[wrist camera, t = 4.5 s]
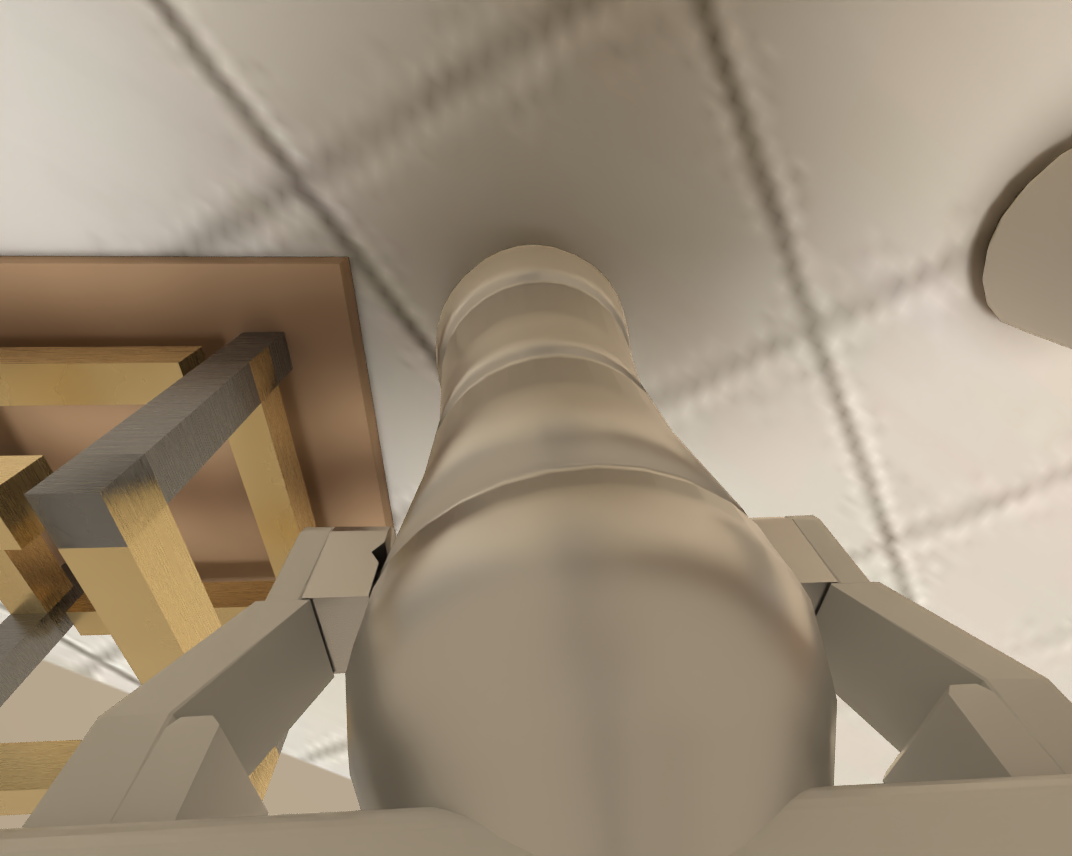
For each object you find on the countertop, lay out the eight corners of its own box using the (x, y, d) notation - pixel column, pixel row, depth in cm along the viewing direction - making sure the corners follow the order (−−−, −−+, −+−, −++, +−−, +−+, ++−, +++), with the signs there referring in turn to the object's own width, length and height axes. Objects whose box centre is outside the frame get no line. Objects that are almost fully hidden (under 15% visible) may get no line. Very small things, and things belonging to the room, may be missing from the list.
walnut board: (-161, 255, 18) (-202, 262, 17) (348, 257, 19) (339, 264, 18) (66, 602, 27) (48, 620, 26) (404, 592, 28) (400, 609, 27)
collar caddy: (-79, 333, 18) (-597, 506, 10) (284, 331, 19) (99, 492, 10) (77, 585, 25) (-150, 822, 16) (344, 577, 26) (261, 802, 17)
